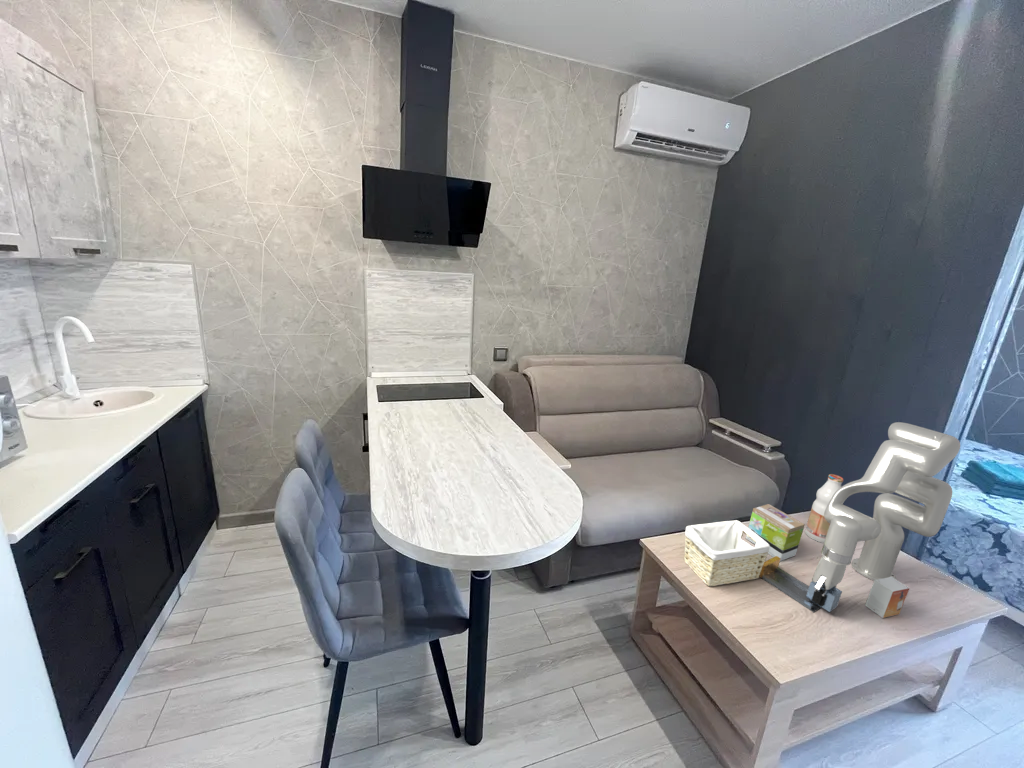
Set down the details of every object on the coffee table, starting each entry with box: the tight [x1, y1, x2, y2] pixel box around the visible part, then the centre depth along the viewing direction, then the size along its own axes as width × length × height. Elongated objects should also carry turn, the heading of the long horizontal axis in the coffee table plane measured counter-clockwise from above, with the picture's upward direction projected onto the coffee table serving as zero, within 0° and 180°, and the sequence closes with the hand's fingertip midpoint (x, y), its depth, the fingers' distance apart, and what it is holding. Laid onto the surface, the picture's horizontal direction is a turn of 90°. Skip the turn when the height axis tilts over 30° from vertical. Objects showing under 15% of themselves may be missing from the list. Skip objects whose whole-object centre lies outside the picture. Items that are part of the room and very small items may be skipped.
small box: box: [865, 577, 910, 619], centre depth 137 cm, size 8×6×10 cm
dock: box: [759, 556, 822, 613], centre depth 145 cm, size 10×18×5 cm, turn 30°
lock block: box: [806, 580, 843, 613], centre depth 137 cm, size 5×7×6 cm
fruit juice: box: [804, 473, 844, 544], centre depth 173 cm, size 9×9×28 cm
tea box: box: [745, 503, 806, 562], centre depth 165 cm, size 15×10×15 cm, turn 25°
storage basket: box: [683, 519, 770, 587], centre depth 151 cm, size 24×16×15 cm
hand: (821, 599), depth 138 cm, fingers closed on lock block, 5 cm apart
